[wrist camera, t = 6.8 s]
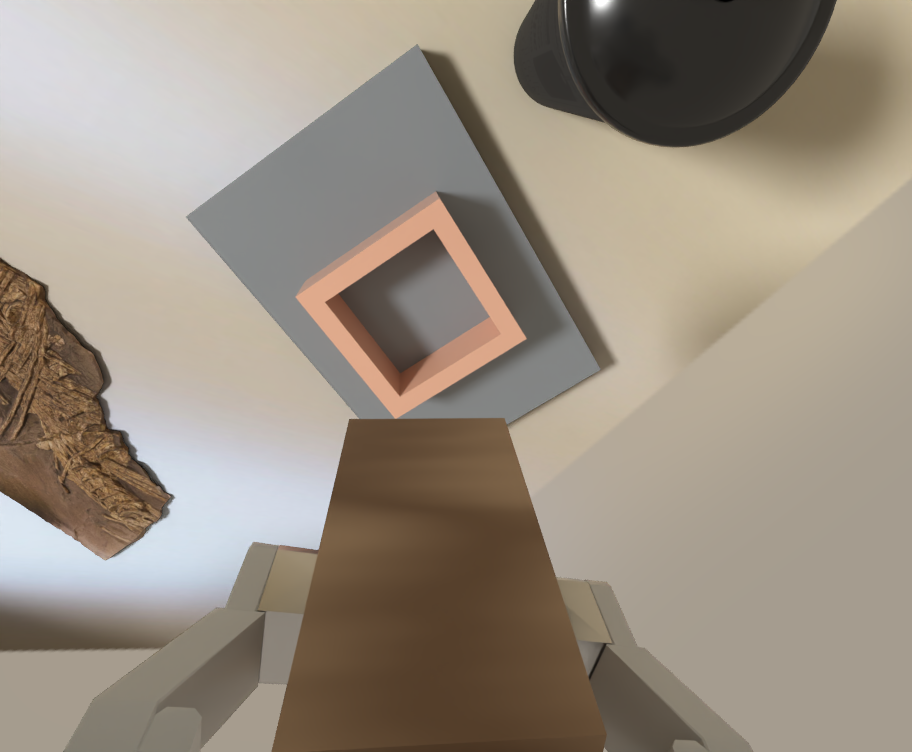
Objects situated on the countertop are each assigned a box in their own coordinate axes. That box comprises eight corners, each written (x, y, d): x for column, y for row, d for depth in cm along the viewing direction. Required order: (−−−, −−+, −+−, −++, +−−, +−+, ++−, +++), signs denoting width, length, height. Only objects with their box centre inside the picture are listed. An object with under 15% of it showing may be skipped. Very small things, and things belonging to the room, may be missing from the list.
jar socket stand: (411, 466, 36) (413, 510, 32) (196, 212, 28) (160, 226, 23) (592, 359, 33) (619, 391, 29) (416, 48, 25) (419, 33, 21)
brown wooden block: (356, 541, 15) (302, 920, 8) (349, 419, 13) (271, 753, 6) (494, 537, 15) (568, 898, 8) (504, 418, 14) (606, 734, 6)
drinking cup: (606, 153, 28) (967, 200, 10) (469, 118, 27) (607, 100, 9) (660, -15, 25) (1311, -374, 7) (508, -64, 24) (840, -661, 6)
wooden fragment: (195, 537, 37) (189, 548, 36) (41, 568, 37) (32, 580, 36) (-9, 145, 26) (-24, 145, 25) (-230, 187, 26) (-254, 190, 25)
